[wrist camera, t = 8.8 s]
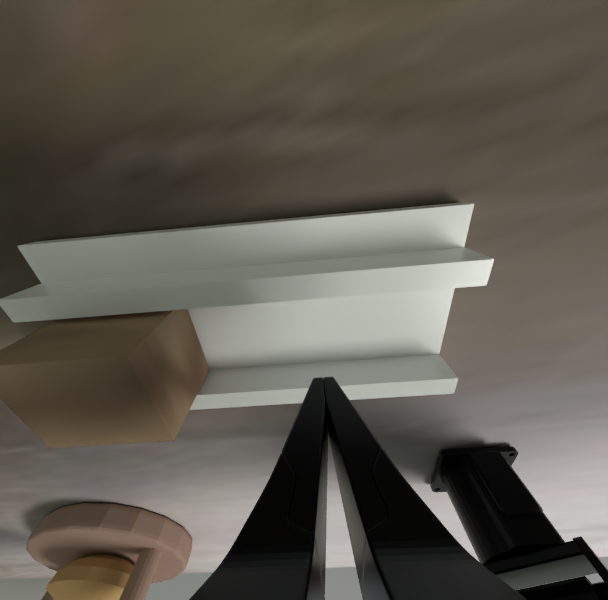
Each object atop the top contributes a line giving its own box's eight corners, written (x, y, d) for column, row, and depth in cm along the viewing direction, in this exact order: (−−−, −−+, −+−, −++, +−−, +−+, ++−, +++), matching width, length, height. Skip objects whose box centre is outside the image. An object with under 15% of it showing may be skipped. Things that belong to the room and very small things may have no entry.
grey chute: (424, 379, 17) (447, 416, 14) (133, 397, 17) (103, 436, 15) (460, 202, 11) (509, 208, 9) (37, 241, 12) (-38, 257, 9)
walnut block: (209, 369, 14) (173, 440, 10) (118, 375, 15) (49, 447, 11) (184, 300, 12) (126, 356, 8) (77, 308, 12) (-31, 367, 8)
